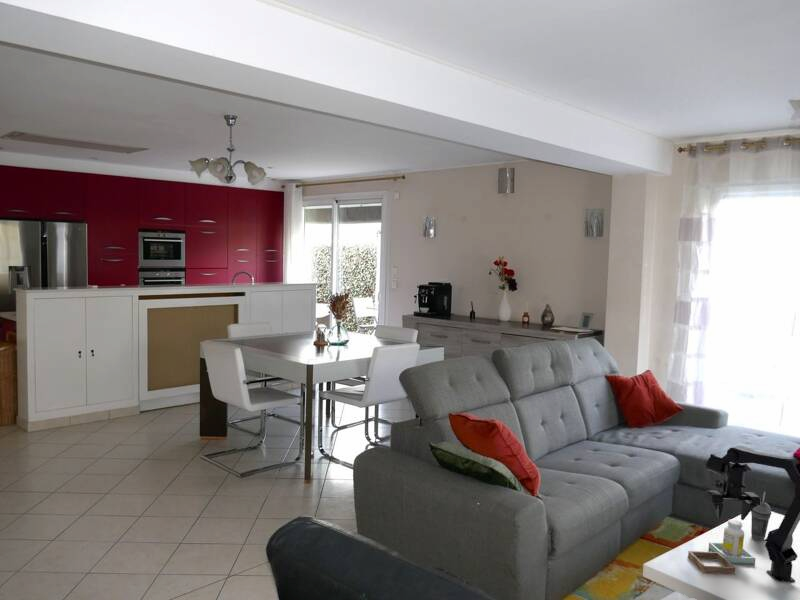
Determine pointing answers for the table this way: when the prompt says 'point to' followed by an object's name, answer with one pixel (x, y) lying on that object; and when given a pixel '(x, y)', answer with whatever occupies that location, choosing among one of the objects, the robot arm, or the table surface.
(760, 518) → the beverage cup
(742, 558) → the tray
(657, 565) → the table surface
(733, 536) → the supplement bottle
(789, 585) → the table surface
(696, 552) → the brown wooden square frame
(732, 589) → the table surface
